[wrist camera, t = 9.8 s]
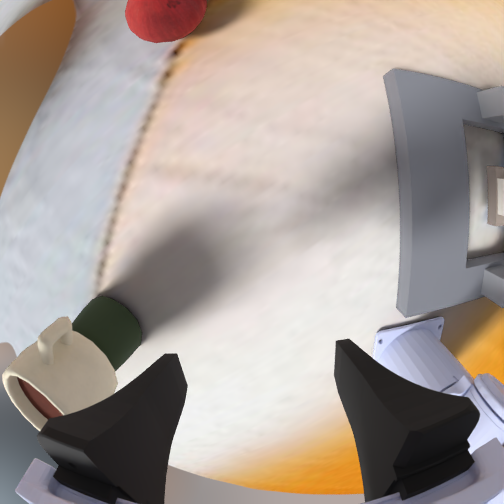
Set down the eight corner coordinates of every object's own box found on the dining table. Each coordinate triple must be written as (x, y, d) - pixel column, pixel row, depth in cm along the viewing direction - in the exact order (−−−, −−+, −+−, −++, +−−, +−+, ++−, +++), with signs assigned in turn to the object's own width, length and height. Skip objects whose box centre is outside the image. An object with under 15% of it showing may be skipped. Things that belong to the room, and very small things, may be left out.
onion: (202, -3, 15) (181, -58, 7) (222, 40, 16) (204, -18, 9) (140, 24, 16) (99, -20, 8) (154, 68, 17) (108, 26, 9)
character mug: (88, 259, 22) (-16, 324, 9) (156, 286, 22) (72, 387, 9) (86, 350, 24) (21, 427, 12) (143, 375, 25) (93, 472, 12)
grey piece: (525, 272, 20) (553, 287, 15) (396, 307, 22) (425, 339, 16) (524, 113, 15) (554, 110, 10) (382, 76, 17) (415, 52, 11)
